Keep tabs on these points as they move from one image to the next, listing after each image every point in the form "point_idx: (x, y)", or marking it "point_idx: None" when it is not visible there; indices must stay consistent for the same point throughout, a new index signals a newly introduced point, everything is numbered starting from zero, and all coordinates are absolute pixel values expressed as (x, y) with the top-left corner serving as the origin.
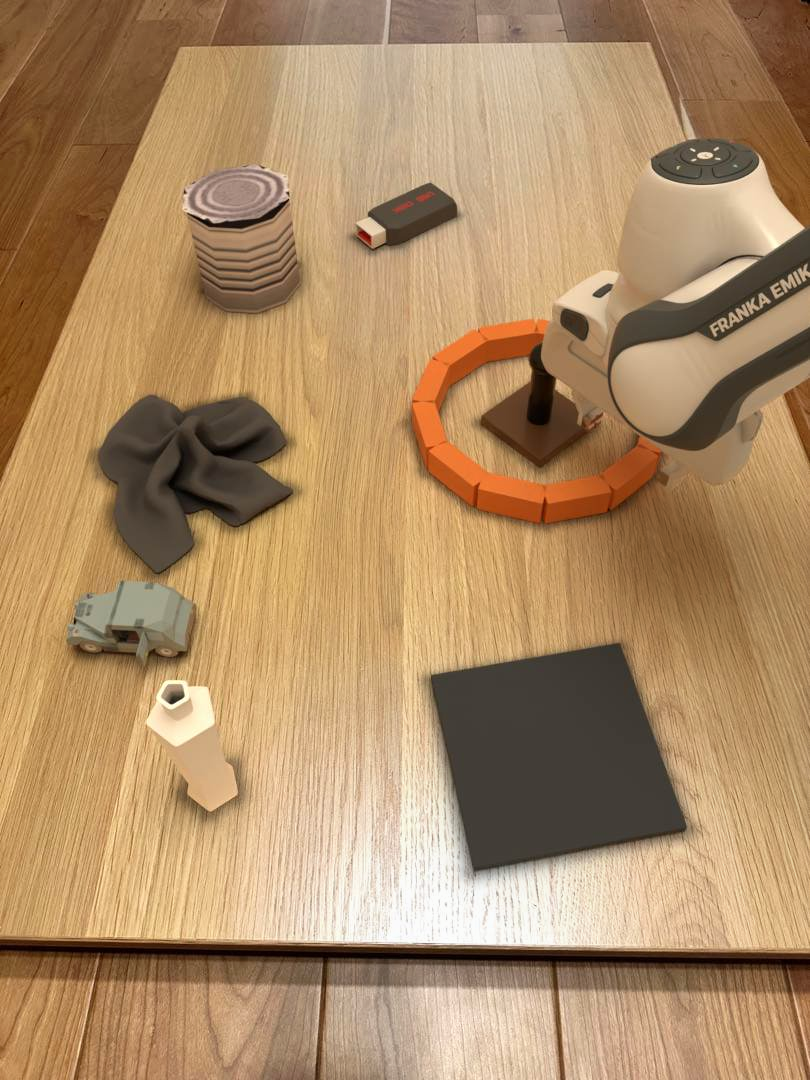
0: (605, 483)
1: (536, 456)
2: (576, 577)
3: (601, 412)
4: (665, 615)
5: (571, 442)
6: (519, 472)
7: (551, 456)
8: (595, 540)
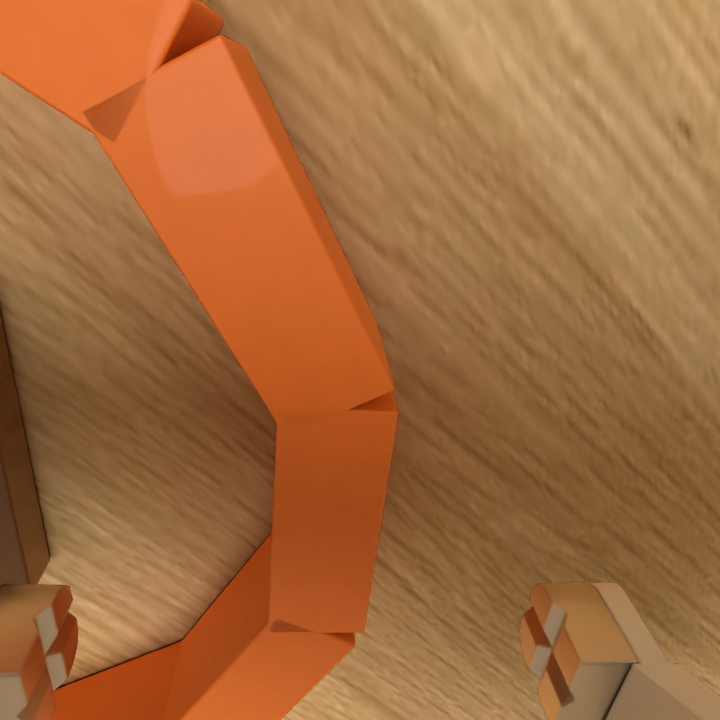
0: (313, 638)
1: None
2: (412, 708)
3: (19, 690)
4: None
5: (18, 424)
6: None
7: (35, 526)
8: (383, 624)
